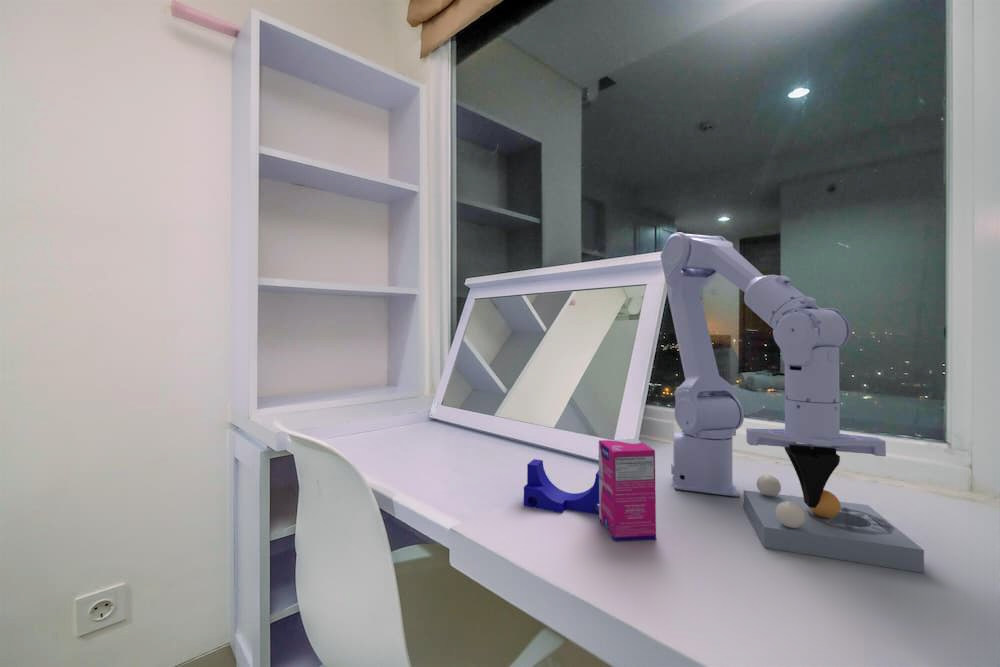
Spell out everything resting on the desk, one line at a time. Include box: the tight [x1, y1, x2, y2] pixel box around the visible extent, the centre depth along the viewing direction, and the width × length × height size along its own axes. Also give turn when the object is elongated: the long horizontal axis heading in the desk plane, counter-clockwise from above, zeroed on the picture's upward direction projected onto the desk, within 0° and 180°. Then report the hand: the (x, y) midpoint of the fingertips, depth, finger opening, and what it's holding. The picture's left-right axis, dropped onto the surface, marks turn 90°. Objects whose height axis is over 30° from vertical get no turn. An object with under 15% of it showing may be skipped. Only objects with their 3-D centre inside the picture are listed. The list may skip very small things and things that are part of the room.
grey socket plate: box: [743, 489, 925, 574], centre depth 54 cm, size 15×13×2 cm
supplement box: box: [598, 438, 657, 542], centre depth 55 cm, size 6×6×12 cm
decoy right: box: [776, 501, 806, 528], centre depth 51 cm, size 3×3×3 cm
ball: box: [809, 489, 841, 518], centre depth 54 cm, size 3×3×3 cm
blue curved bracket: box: [523, 458, 599, 516], centre depth 62 cm, size 12×4×6 cm, turn 66°
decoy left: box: [756, 474, 782, 497], centre depth 61 cm, size 3×3×3 cm
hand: (812, 505), depth 54 cm, fingers closed, pressing on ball
